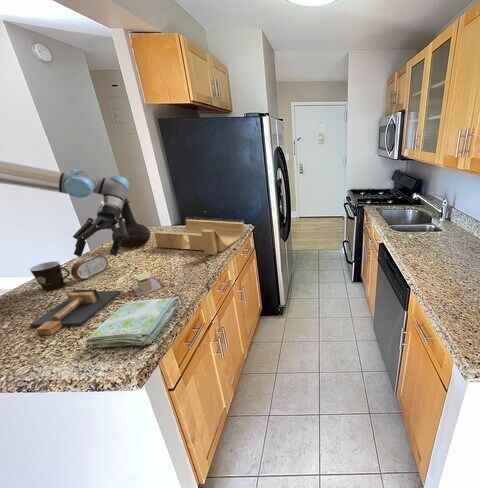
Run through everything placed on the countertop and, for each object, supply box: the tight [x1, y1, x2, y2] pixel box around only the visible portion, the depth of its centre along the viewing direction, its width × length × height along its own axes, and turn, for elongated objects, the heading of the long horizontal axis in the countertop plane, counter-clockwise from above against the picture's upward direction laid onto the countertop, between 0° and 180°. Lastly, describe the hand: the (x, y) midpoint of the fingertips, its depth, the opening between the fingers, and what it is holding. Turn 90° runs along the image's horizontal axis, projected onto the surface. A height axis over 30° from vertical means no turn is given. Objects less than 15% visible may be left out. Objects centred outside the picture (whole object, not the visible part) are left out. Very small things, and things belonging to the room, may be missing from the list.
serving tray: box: [29, 290, 122, 328], centre depth 96 cm, size 16×20×1 cm
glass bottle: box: [111, 197, 151, 249], centre depth 148 cm, size 18×18×28 cm
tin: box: [70, 254, 109, 280], centre depth 118 cm, size 15×3×8 cm, turn 172°
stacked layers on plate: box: [131, 271, 163, 297], centre depth 109 cm, size 10×9×6 cm
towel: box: [84, 297, 180, 349], centre depth 86 cm, size 18×21×5 cm
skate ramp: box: [153, 216, 246, 259], centre depth 154 cm, size 40×35×16 cm
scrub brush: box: [51, 288, 100, 321], centre depth 93 cm, size 8×4×14 cm
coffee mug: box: [29, 261, 70, 292], centre depth 108 cm, size 12×9×10 cm
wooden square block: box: [35, 321, 64, 336], centre depth 84 cm, size 4×4×2 cm
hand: (95, 255), depth 103 cm, fingers open, 13 cm apart
